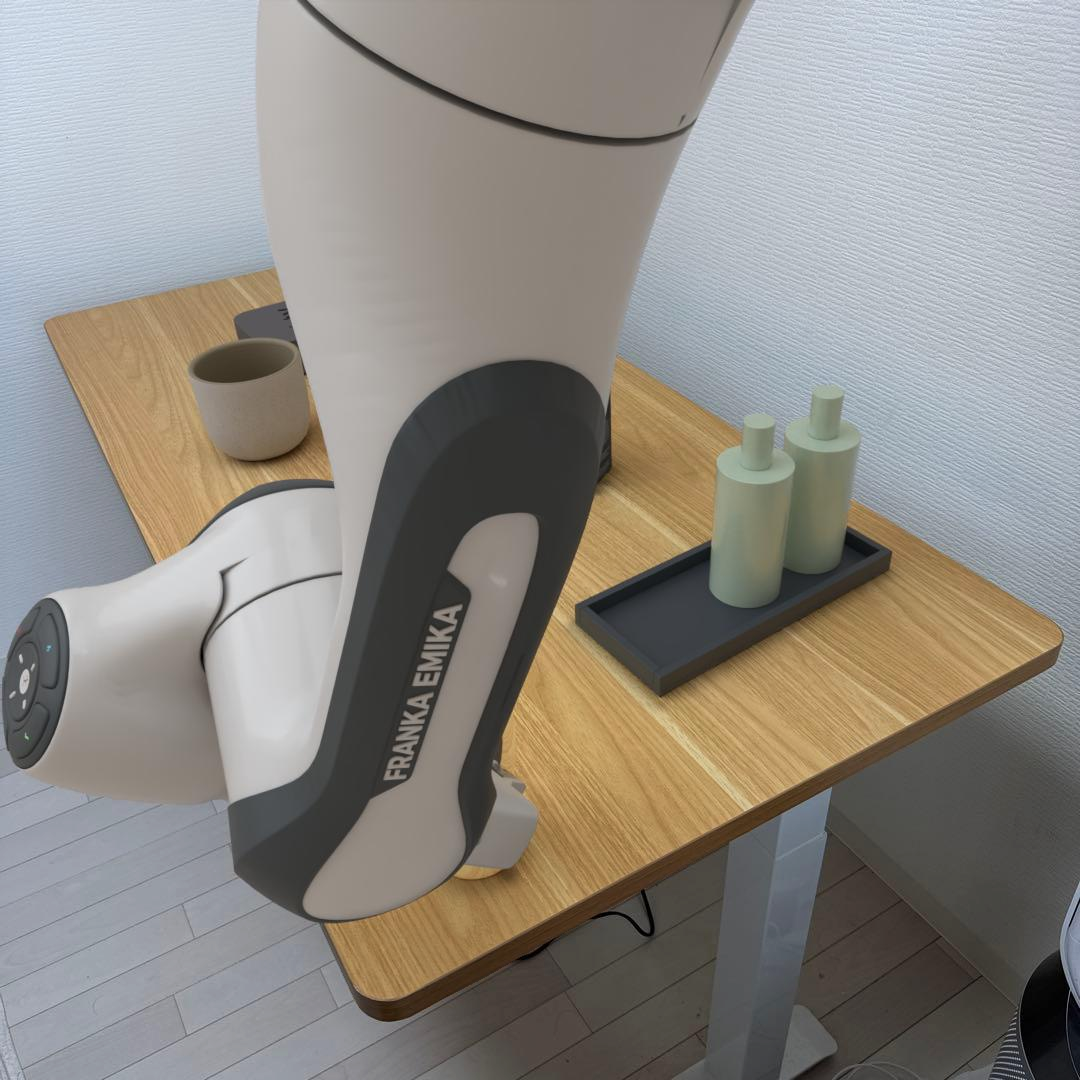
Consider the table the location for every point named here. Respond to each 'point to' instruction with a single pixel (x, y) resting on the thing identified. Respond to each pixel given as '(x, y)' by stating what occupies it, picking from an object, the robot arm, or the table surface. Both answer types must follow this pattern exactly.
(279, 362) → the planter
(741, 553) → the bottle
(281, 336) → the streaming box
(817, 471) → the bottle
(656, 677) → the tray
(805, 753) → the table surface
